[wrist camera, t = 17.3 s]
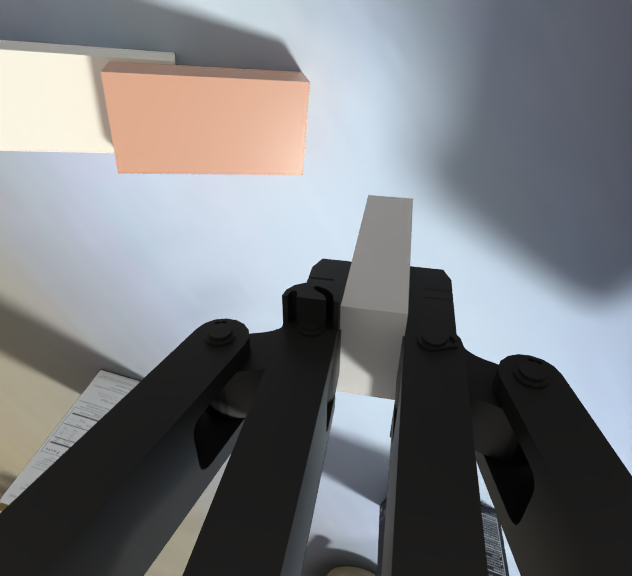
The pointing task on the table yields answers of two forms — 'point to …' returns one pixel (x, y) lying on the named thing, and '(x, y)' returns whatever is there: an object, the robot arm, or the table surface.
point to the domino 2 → (206, 119)
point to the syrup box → (72, 428)
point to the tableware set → (350, 571)
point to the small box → (492, 536)
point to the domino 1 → (59, 95)
